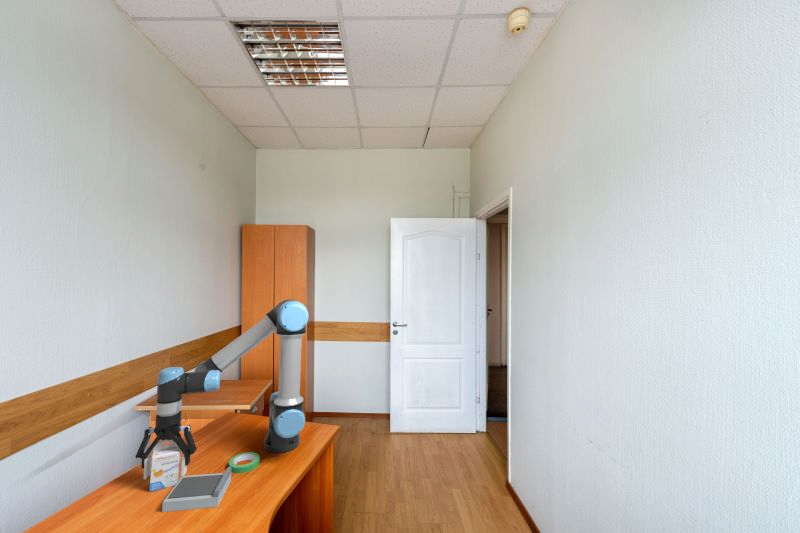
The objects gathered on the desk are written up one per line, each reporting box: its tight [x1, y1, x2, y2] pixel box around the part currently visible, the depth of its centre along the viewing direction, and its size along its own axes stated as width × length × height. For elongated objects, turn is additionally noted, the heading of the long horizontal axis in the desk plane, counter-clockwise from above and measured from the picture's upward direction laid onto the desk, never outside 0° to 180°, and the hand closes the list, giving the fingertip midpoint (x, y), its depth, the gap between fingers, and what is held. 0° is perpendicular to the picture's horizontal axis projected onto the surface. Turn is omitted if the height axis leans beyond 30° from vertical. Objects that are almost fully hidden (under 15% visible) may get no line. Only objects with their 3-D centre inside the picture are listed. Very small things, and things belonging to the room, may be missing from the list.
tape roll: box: [227, 451, 260, 475], centre depth 131 cm, size 11×11×3 cm
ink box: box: [149, 440, 182, 493], centre depth 118 cm, size 8×5×15 cm, turn 123°
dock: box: [161, 467, 232, 513], centre depth 112 cm, size 16×14×5 cm
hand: (165, 475), depth 118 cm, fingers open, 11 cm apart
